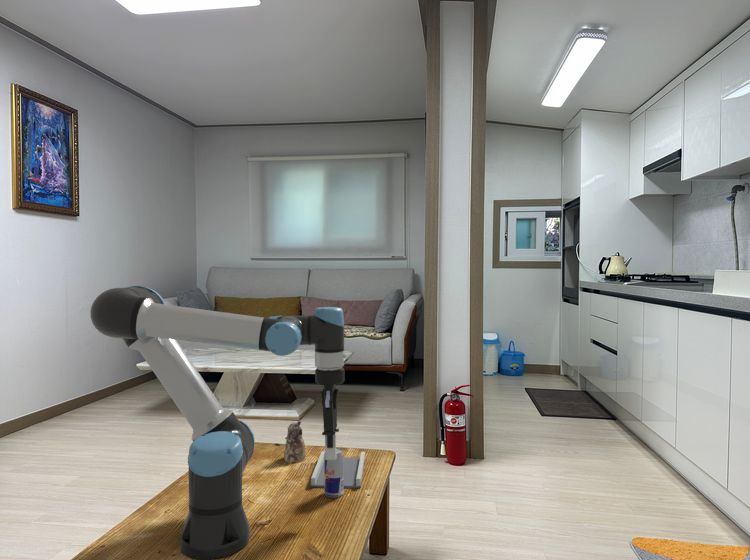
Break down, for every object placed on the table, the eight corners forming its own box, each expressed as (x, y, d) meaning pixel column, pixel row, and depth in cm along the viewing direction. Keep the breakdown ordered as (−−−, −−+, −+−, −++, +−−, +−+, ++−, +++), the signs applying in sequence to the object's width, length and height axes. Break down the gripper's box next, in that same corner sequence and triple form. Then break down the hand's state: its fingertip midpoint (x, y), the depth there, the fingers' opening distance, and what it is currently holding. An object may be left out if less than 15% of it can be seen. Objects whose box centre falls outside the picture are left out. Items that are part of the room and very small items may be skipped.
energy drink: (320, 493, 141) (320, 450, 141) (335, 488, 145) (335, 446, 145) (333, 499, 138) (333, 455, 137) (347, 493, 141) (347, 450, 141)
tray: (360, 488, 145) (360, 479, 145) (310, 487, 146) (310, 478, 146) (364, 459, 167) (364, 451, 167) (321, 459, 168) (321, 451, 167)
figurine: (279, 459, 167) (279, 422, 167) (295, 453, 173) (295, 418, 173) (293, 464, 163) (293, 427, 163) (310, 458, 168) (310, 422, 168)
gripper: (341, 372, 124) (342, 468, 124) (346, 362, 137) (347, 449, 137) (311, 372, 124) (312, 468, 125) (319, 362, 137) (320, 449, 138)
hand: (330, 458), depth 131 cm, fingers closed
